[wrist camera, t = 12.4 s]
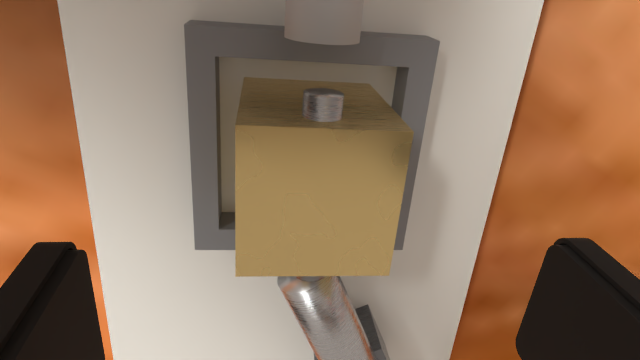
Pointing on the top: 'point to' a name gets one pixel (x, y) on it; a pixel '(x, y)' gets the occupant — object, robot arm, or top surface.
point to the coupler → (317, 179)
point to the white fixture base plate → (219, 157)
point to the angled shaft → (333, 320)
